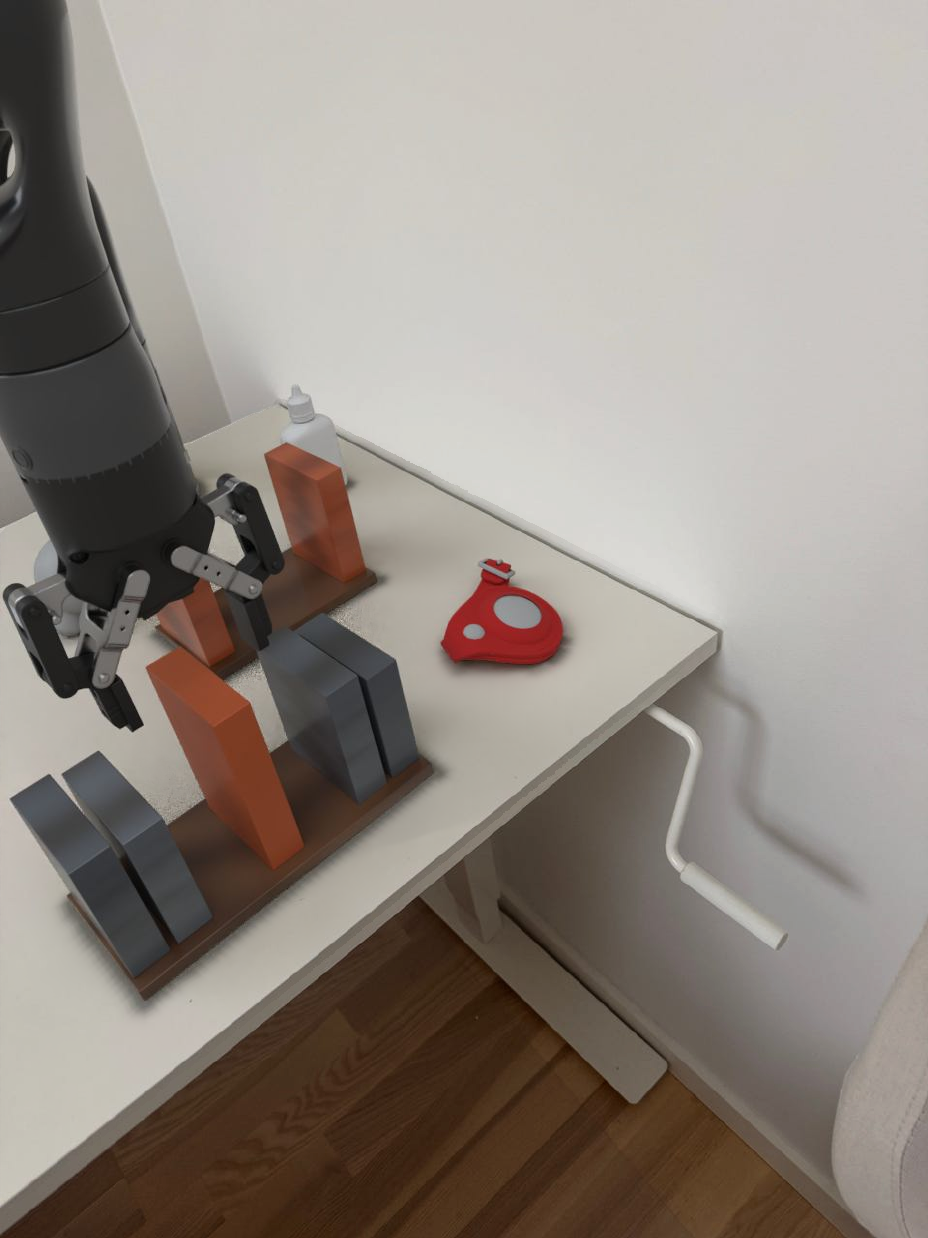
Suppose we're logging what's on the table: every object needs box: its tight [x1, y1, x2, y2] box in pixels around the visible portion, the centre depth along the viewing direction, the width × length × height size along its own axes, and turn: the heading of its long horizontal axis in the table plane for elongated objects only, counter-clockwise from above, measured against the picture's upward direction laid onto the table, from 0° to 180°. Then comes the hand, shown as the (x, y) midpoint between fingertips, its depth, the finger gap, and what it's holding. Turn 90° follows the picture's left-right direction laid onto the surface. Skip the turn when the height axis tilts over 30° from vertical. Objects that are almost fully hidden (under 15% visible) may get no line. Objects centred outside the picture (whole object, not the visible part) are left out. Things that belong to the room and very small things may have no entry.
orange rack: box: [154, 442, 378, 681], centre depth 81 cm, size 10×17×12 cm, turn 133°
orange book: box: [145, 646, 305, 870], centre depth 60 cm, size 8×2×13 cm, turn 43°
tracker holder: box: [440, 557, 564, 665], centre depth 77 cm, size 12×4×10 cm
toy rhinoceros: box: [33, 539, 111, 637], centre depth 86 cm, size 7×12×8 cm, turn 179°
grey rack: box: [9, 613, 434, 1002], centre depth 61 cm, size 10×23×11 cm, turn 133°
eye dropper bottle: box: [279, 383, 348, 487], centre depth 96 cm, size 4×6×12 cm
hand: (195, 682), depth 56 cm, fingers open, 8 cm apart
